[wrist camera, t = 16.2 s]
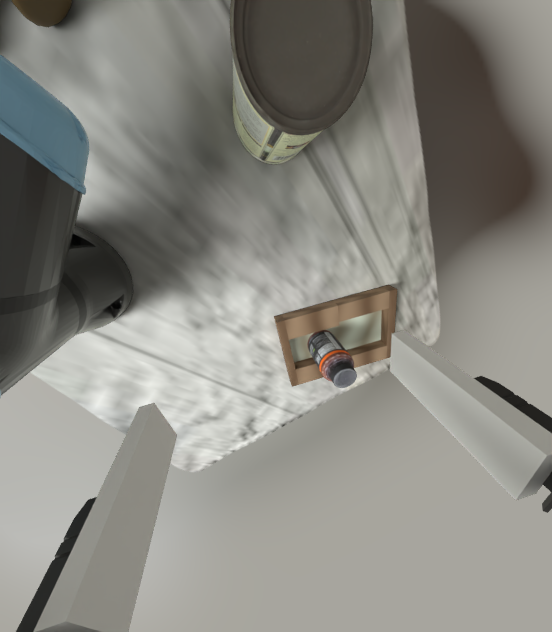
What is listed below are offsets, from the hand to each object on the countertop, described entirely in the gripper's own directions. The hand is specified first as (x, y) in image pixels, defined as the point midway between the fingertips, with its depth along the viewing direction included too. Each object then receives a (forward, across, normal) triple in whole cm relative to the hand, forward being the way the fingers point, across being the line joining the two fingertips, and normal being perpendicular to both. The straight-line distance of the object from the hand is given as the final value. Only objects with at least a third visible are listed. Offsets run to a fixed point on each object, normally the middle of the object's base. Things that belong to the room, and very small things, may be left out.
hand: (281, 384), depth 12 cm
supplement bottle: (+27, +10, -18) cm, 34 cm away
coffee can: (+27, +8, +18) cm, 33 cm away
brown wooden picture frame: (+27, +14, -18) cm, 35 cm away
